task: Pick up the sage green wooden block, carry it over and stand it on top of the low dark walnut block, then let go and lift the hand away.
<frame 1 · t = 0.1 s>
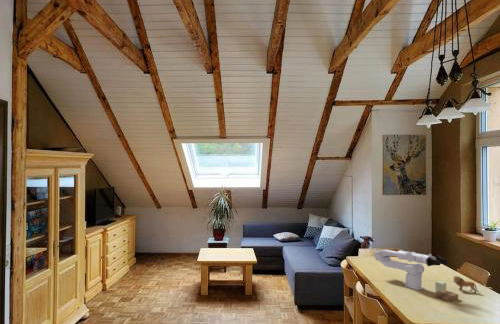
hand: (443, 262, 230), 22 cm above the table, tool horizontal, fingers open, 7 cm apart
lion figurine: (465, 291, 242), on the table
walnut block: (446, 298, 229), on the table
sage block: (440, 291, 241), on the table
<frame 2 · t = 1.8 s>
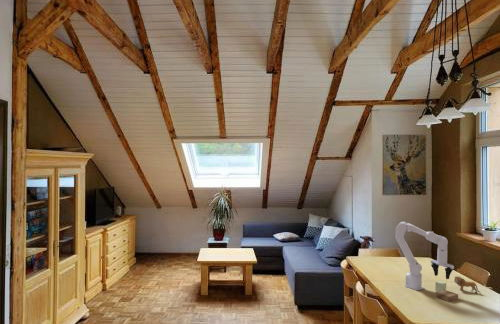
hand: (441, 277, 239), 10 cm above the table, tool pointing down, fingers open, 7 cm apart
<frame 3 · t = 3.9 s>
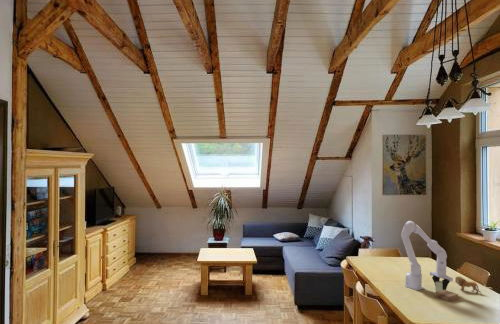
hand: (440, 289, 241), 1 cm above the table, tool pointing down, fingers closed on sage block, 4 cm apart
sage block: (440, 291, 241), on the table, touching gripper
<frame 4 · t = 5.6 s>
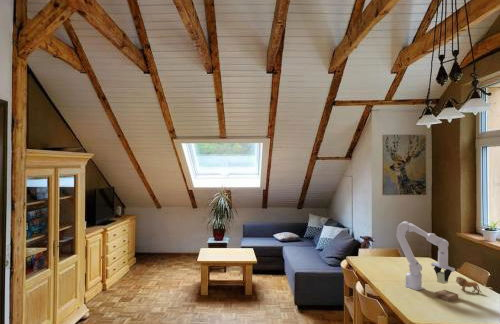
hand: (442, 279, 238), 8 cm above the table, tool pointing down, fingers closed on sage block, 4 cm apart
sage block: (442, 282, 238), point 7 cm above the table, touching gripper
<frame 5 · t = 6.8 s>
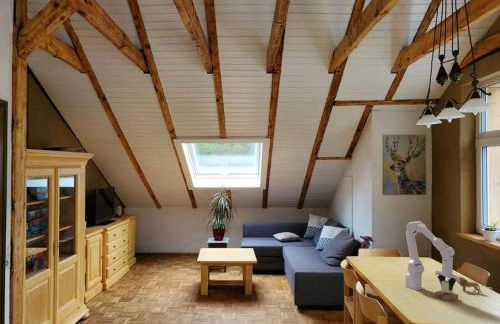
hand: (446, 288, 229), 6 cm above the table, tool pointing down, fingers closed on sage block, 4 cm apart
sage block: (446, 291, 229), point 4 cm above the table, touching gripper
when the fingers open (6 cm above the table, at t = 7.6 s): sage block moves 1 cm, point 3 cm above the table.
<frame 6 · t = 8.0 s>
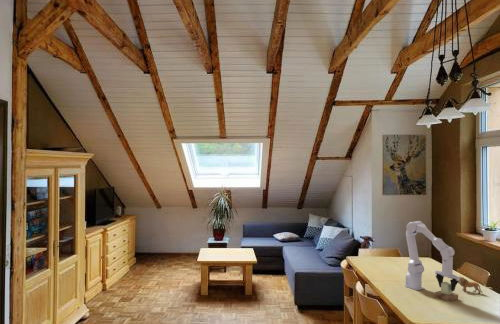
hand: (446, 288, 229), 6 cm above the table, tool pointing down, fingers open, 7 cm apart
sage block: (446, 293, 229), point 3 cm above the table
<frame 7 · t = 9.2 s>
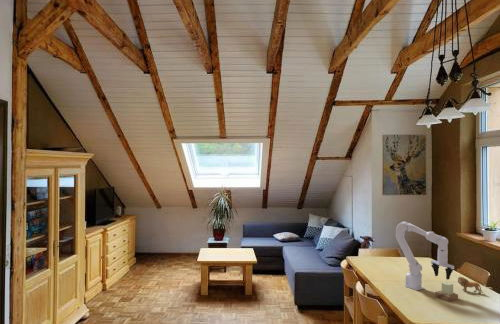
hand: (442, 277, 238), 10 cm above the table, tool pointing down, fingers open, 7 cm apart
walnut block: (446, 298, 229), on the table, touching sage block
sage block: (447, 293, 229), point 3 cm above the table, touching walnut block
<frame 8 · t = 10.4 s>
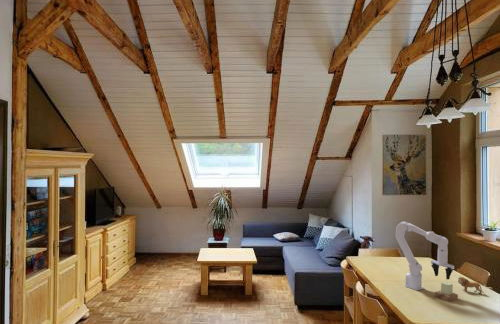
hand: (442, 277, 238), 10 cm above the table, tool pointing down, fingers open, 7 cm apart
walnut block: (446, 298, 229), on the table
sage block: (446, 293, 229), point 3 cm above the table
at the end: sage block 0.2 cm off-centre on the walnut block, point 3.5 cm above the walnut block's base; sage block tilted 0°; the gripper is holding nothing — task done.
